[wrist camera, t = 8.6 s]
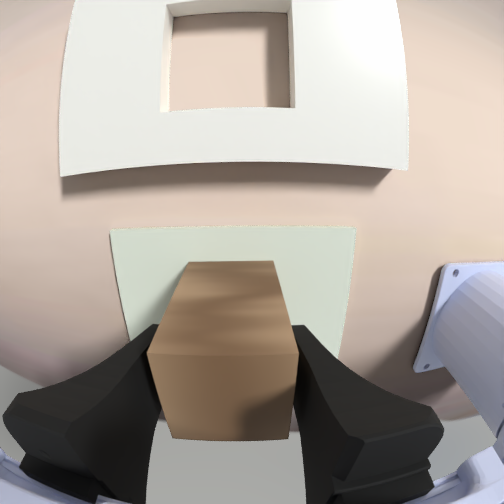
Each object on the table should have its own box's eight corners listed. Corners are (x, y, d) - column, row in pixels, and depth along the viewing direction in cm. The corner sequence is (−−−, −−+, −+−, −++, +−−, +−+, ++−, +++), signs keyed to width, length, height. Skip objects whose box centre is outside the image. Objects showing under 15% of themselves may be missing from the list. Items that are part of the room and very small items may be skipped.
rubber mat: (353, 226, 14) (356, 228, 13) (335, 357, 16) (337, 361, 16) (113, 228, 14) (109, 230, 13) (137, 356, 16) (135, 360, 16)
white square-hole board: (381, -2, 10) (392, -14, 8) (393, 168, 13) (408, 170, 11) (87, 7, 9) (75, -2, 8) (76, 173, 13) (60, 176, 11)
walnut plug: (273, 260, 14) (298, 353, 7) (271, 331, 15) (288, 438, 8) (188, 261, 14) (147, 353, 7) (195, 332, 15) (172, 438, 8)
